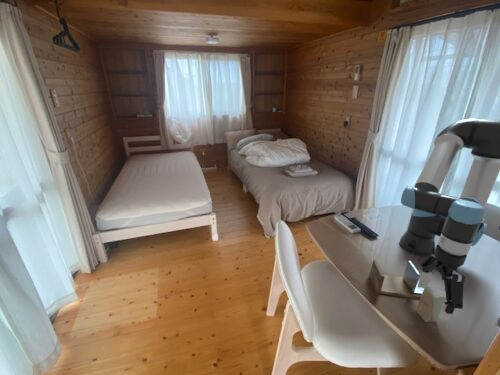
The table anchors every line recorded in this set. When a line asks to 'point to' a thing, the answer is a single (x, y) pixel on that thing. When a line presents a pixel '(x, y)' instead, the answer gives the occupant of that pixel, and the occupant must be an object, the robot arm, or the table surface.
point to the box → (430, 304)
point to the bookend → (412, 279)
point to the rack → (389, 283)
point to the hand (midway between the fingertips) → (431, 301)
